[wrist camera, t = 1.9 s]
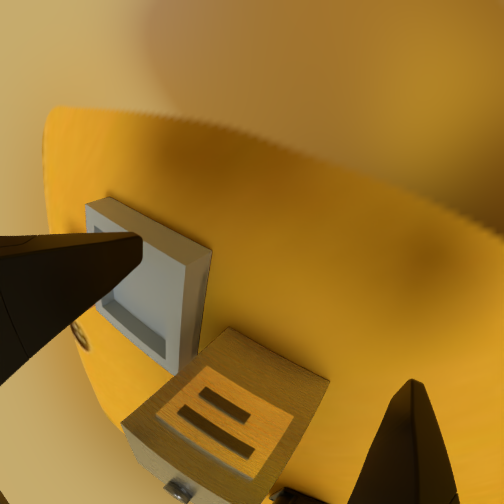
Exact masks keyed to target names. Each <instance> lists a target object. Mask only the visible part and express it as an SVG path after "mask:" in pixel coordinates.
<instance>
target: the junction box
mask: <svg viewBox="0 0 504 504" xmlns="http://www.w3.org/2000/svg"><path fill="white" fill-rule="evenodd" d="M329 383H330V381H328V380H326V379H324V378H322V377H320V376H318V375H316V374H314V373H312V372H310V371H308V370H306V369H304V368H302V367H300V366H298V365H296V364H294V363H292V362H291V361H289V360H287V359H285V358H283V357H281V356H279V355H278V354H276V353H274V352H272V351H270V350H268V349H267V348H265V347H263V346H261V345H259V344H258V343H256V342H254V341H252V340H251V339H249V338H247V337H245V336H244V335H242V334H240V333H239V332H237V331H235V330H233V329H232V328H230V327H228V328H227V329H226V330H225V331H223V332H222V333H221V334H220V335H219V336H218V337H217V338H216V339H215V340H214V341H213V342H212V343H211V344H209V345H208V346H207V347H206V348H205V349H204V350H203V351H202V352H201V353H200V354H199V355H197V356H196V357H195V358H194V359H193V360H192V361H191V362H190V363H189V364H187V365H186V366H185V367H184V368H183V369H182V370H181V371H180V372H179V373H177V374H176V375H175V376H174V377H173V378H172V379H171V380H170V381H168V382H167V383H166V384H165V385H164V386H163V387H162V388H160V389H159V390H158V391H157V392H156V393H155V394H154V395H152V396H151V397H150V398H149V399H148V400H147V401H145V402H144V403H143V404H142V405H141V406H140V407H138V408H137V409H136V410H135V411H134V412H133V413H131V414H130V415H129V416H128V417H127V418H125V419H124V420H123V421H122V422H121V426H122V428H123V431H124V433H125V435H126V438H127V440H128V442H129V444H130V447H131V449H132V451H133V453H134V455H135V457H136V459H137V461H138V463H139V464H140V465H142V466H143V467H144V468H145V469H146V470H148V471H149V472H150V473H151V474H153V475H154V476H155V477H157V478H158V479H159V480H161V481H162V482H163V483H165V484H166V485H165V486H164V487H163V489H164V490H165V491H166V492H168V493H169V494H170V495H171V496H173V497H174V498H176V499H177V500H179V501H180V502H182V503H184V504H187V503H188V502H189V501H191V502H192V503H194V504H261V502H262V501H263V500H264V498H265V497H266V495H267V494H268V492H269V491H270V489H271V488H272V486H273V485H274V483H275V482H276V480H277V478H278V477H279V475H280V474H281V472H282V471H283V469H284V467H285V466H286V464H287V462H288V461H289V459H290V457H291V456H292V454H293V452H294V451H295V449H296V447H297V445H298V444H299V442H300V440H301V438H302V436H303V435H304V433H305V431H306V429H307V427H308V425H309V423H310V422H311V420H312V418H313V416H314V414H315V412H316V410H317V408H318V406H319V404H320V402H321V400H322V398H323V396H324V394H325V392H326V390H327V387H328V385H329Z"/></svg>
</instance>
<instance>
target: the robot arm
mask: <svg viewBox="0 0 504 504" xmlns="http://www.w3.org/2000/svg"><path fill="white" fill-rule="evenodd" d="M142 259H143V238H142V237H141V236H140V235H138V234H137V233H135V232H101V233H73V234H49V235H38V236H37V235H27V236H0V386H1V385H2V384H3V383H4V382H5V381H6V380H7V379H8V378H9V377H11V376H12V375H13V374H14V373H15V372H16V371H17V370H18V369H19V368H20V367H21V366H22V365H24V364H25V363H26V362H27V361H28V360H29V358H31V357H32V356H33V355H35V354H36V353H37V352H38V351H39V350H40V349H41V348H42V347H44V346H45V345H46V344H47V343H48V342H49V341H51V340H52V339H53V338H54V337H55V336H57V335H58V334H59V333H60V332H61V331H62V330H64V329H65V328H66V327H67V326H68V325H70V324H71V323H72V322H73V321H74V320H76V319H77V318H78V317H79V316H81V315H82V314H83V313H84V312H86V311H87V310H88V309H89V308H90V307H92V306H93V305H94V304H95V303H97V302H98V301H99V300H101V299H102V298H103V297H104V296H106V295H107V294H108V293H109V292H110V291H112V290H113V289H114V288H115V287H116V286H117V285H118V284H119V283H120V282H121V281H122V280H123V279H124V278H126V277H127V276H128V275H129V274H130V273H131V272H132V271H133V270H134V269H135V268H136V267H137V266H139V265H140V263H141V262H142ZM456 492H457V488H456V484H455V480H454V476H453V472H452V468H451V464H450V461H449V457H448V454H447V450H446V447H445V444H444V440H443V437H442V434H441V431H440V428H439V425H438V422H437V419H436V416H435V413H434V411H433V408H432V405H431V402H430V400H429V397H428V394H427V392H426V389H425V386H424V384H423V383H421V382H419V381H417V380H414V379H409V380H408V381H407V382H406V383H405V384H404V385H403V386H402V387H401V388H400V390H399V391H398V392H397V393H396V394H395V395H394V396H393V398H392V399H391V401H390V403H389V405H388V408H387V410H386V413H385V415H384V418H383V420H382V422H381V425H380V427H379V429H378V431H377V434H376V436H375V438H374V440H373V442H372V445H371V447H370V449H369V452H368V454H367V457H366V460H365V462H364V465H363V467H362V470H361V473H360V475H359V478H358V480H357V482H356V485H355V487H354V489H353V492H352V494H351V496H350V498H349V501H348V503H347V504H460V501H459V497H458V493H456ZM269 499H270V500H272V501H274V502H273V503H272V504H324V503H322V502H319V501H316V500H314V499H311V498H309V497H306V496H304V495H302V494H299V493H297V492H295V491H293V490H290V489H288V488H282V489H281V490H279V491H278V492H276V493H274V494H273V495H271V496H270V497H269ZM0 504H9V503H8V501H7V500H6V498H5V497H4V495H3V494H2V492H1V491H0Z"/></svg>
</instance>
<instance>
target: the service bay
mask: <svg viewBox="0 0 504 504" xmlns="http://www.w3.org/2000/svg"><path fill="white" fill-rule="evenodd" d="M85 207H86V228H87V233H101V232H135V233H137V234H138V235H140V236H141V237H142V238H143V259H142V262H141V263H140V265H139V266H137V267H136V268H135V269H134V270H133V271H132V272H131V273H130V274H129V275H128V276H127V277H126V278H124V279H123V280H122V281H121V282H120V283H119V284H118V285H117V286H116V287H115V288H114V289H113V290H112V291H110V292H109V293H108V294H107V295H106V296H104V297H103V298H102V299H101V300H99V301H98V302H97V303H95V305H96V310H97V311H98V312H99V313H100V314H101V315H102V316H104V317H105V318H106V319H107V320H108V321H109V322H110V323H111V324H112V325H113V326H114V327H115V328H116V329H118V330H119V331H120V332H121V333H122V334H123V335H124V336H125V337H127V338H128V339H129V340H130V341H131V342H132V343H134V344H135V345H136V346H137V347H138V348H140V349H141V350H142V351H143V352H144V353H146V354H147V355H148V356H149V357H150V358H152V359H153V360H154V361H155V362H157V363H158V364H159V365H161V366H162V367H163V368H164V369H166V370H167V371H168V372H170V373H171V374H172V375H174V376H175V375H176V374H177V373H179V372H180V371H181V370H182V369H183V368H184V367H185V366H186V365H187V364H189V363H190V362H191V361H192V360H193V359H194V358H195V357H196V356H197V353H198V345H199V337H200V330H201V322H202V315H203V308H204V301H205V294H206V287H207V281H208V274H209V268H210V261H211V255H212V251H211V250H209V249H207V248H205V247H203V246H201V245H200V244H198V243H196V242H194V241H192V240H190V239H188V238H186V237H184V236H182V235H180V234H178V233H177V232H175V231H173V230H171V229H169V228H167V227H165V226H163V225H161V224H159V223H158V222H156V221H154V220H152V219H150V218H148V217H146V216H144V215H143V214H141V213H139V212H137V211H135V210H133V209H131V208H129V207H128V206H126V205H124V204H122V203H120V202H118V201H116V200H115V199H113V198H111V197H107V198H104V199H100V200H97V201H93V202H90V203H87V204H85Z"/></svg>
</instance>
